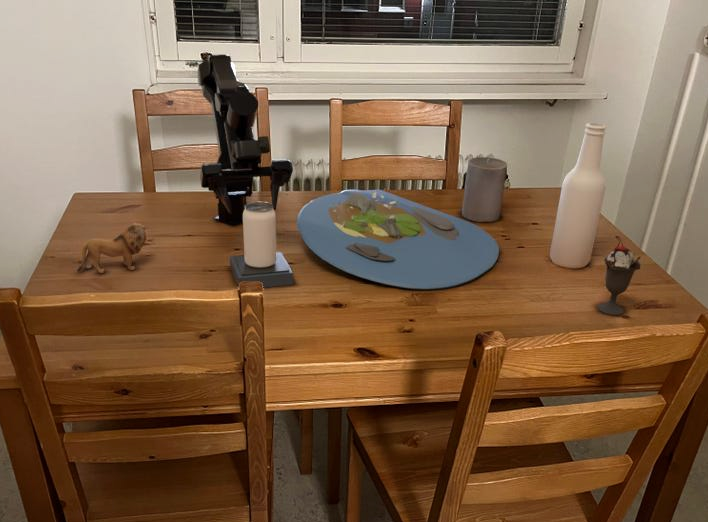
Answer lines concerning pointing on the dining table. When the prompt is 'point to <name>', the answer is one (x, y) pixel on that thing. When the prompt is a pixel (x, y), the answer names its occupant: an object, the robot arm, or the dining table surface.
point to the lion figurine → (115, 247)
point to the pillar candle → (484, 189)
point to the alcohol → (580, 204)
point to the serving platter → (395, 240)
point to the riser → (262, 272)
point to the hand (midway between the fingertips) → (253, 211)
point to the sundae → (618, 276)
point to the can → (259, 234)
